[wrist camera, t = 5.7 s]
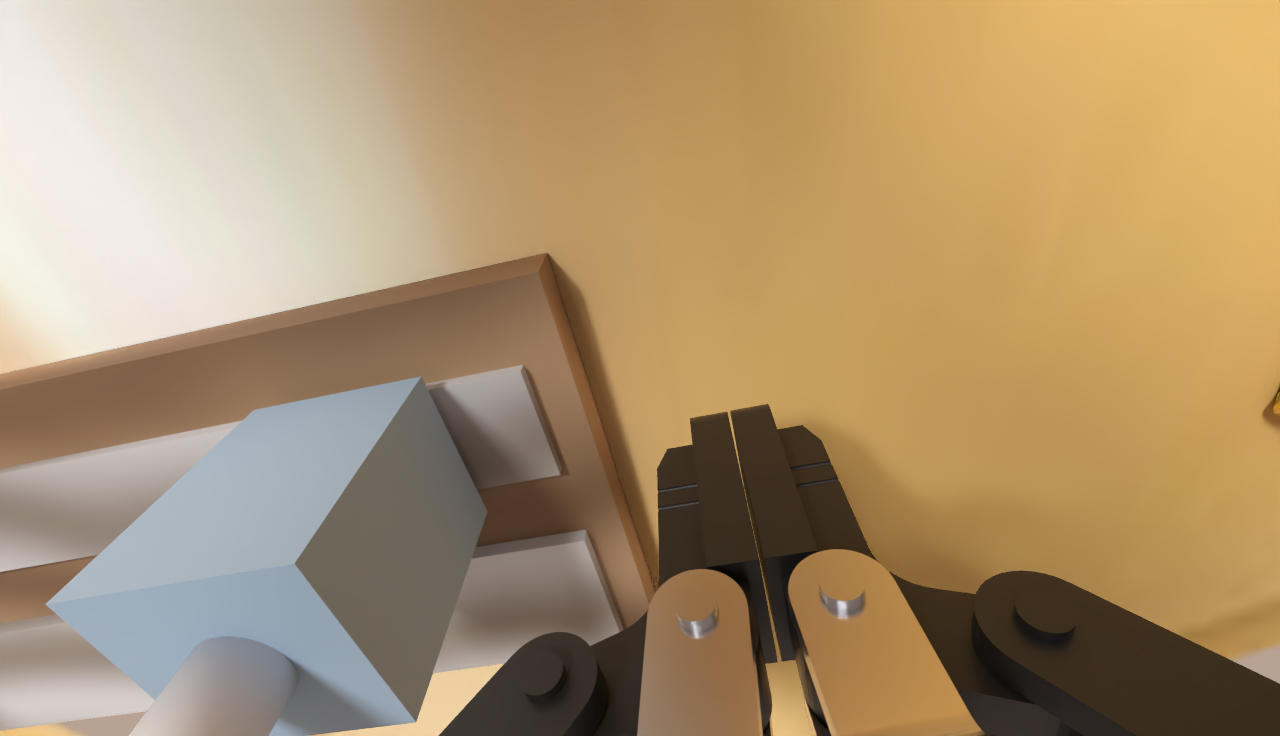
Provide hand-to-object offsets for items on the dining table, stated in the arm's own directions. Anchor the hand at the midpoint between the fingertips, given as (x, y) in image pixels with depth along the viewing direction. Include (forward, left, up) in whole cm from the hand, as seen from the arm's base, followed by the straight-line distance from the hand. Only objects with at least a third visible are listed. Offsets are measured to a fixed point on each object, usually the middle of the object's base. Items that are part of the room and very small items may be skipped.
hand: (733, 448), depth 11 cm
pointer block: (0, -8, -2) cm, 8 cm away
